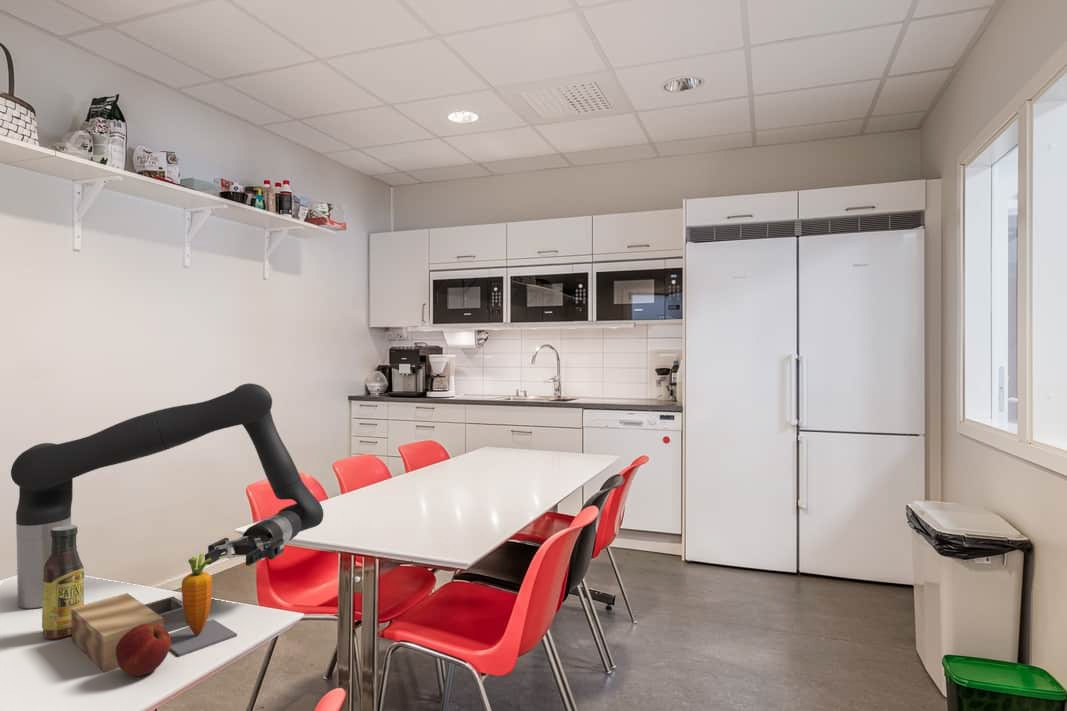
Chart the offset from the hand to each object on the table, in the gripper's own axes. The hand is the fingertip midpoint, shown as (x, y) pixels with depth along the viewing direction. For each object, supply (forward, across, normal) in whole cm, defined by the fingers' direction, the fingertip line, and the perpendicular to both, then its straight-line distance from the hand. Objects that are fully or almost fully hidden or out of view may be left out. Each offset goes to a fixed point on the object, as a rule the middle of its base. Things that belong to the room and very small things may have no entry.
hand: (227, 560), depth 125 cm
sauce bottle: (+10, -27, +11) cm, 30 cm away
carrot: (+10, 0, +11) cm, 15 cm away
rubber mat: (+10, 0, +11) cm, 15 cm away
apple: (+22, -1, +11) cm, 25 cm away
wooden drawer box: (+11, -10, +11) cm, 19 cm away
